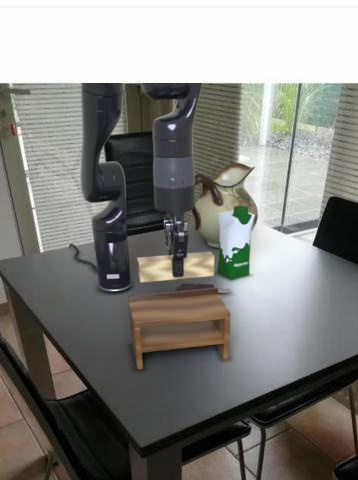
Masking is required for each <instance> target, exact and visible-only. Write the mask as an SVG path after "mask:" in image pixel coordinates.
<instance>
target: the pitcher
mask: <svg viewBox="0 0 358 480" xmlns="http://www.w3.org/2000/svg"><path fill="white" fill-rule="evenodd" d="M255 169H256V167H255V166H253V167H251V166H249V165H246V164H245V163H240V162H234V163H230V164H227V165H226V166H224V167H223V168H222V169H221V170H219V172H218V173H216V175H215V176H214V177H213V178H211V177H209V176H208V175H205V174H203V173H201V172H197V173H195V187H196V186H197V185H199V184H201V185H202V189H201V192H200V193H199V195H198V200H197V201H196V202H195V206H194V208H193V209H192V210H191V213H192V222H193V224H194V231H197V232H198V233H199V234H200V236H201V237H202V238H203V239H204V240H206V244H207V245H208V246H210V247H212V248H217V249H219V237H220V227H219V221H218V214H217V213H221V212H226V211H231V210H234V207H236V206H246V207H248V212H249V213H252V214H255V217H254V221H253V224H252V229H251V233H252V232H253V230H254V229H255V227H256V225H257V222H258V219H259V210H258V206H257V204H256V202H255V200H254V199H253V197H252V196H251V195H250V194H249V192H248V191H247V190H246V188H245V185H244V184H245V181H246V178H248V176H249V175H250V174H251V173H252V172H253V171H254V170H255Z"/></svg>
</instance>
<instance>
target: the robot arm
mask: <svg viewBox="0 0 358 480" xmlns="http://www.w3.org/2000/svg"><path fill="white" fill-rule="evenodd" d="M203 84H204V82H203V83H140V82H139V85H140V86H139V87H140V89H141V91H142V93H144V95H145V96H146V97H148V98H149V99H151V100H153V101H154V100H155V101H168V100H169V101H170V100H171V101H172V100H176V103H175V106H174V108H173V110H172V111H171V112H170V113H168V114H165V115H162V116H160V117H157V118H156V119H154V120H153V123H152V128H151V129H152V148H153V149H152V152H153V162H152V178H153V179H152V182H153V201H154V202H153V203H154V209H155V210H156V211H157V212H159V213H164V214H163V215H162V216H163V217H162V221H163V222H162V223H163V227H164V239H165V246H166V250H167V253H168V255H171V257H172V275H173V277H182V276H183V275H184V258H186V256H187V254H188V245H189V244H188V243H189V235H190V234H189V231H188V221H187V220H185V216H184V214H185V213H186V212H190V211H191V212H192V209H193V208H194V206H195V204H196V198H195V197H196V194H195V189H196V188H195V187H196V186H195V175H196V173H195V171H196V170H195V162H194V161H195V160H194V125H195V122H196V121H195V120H196V116H197V110H198V105H199V102H200V98H201V94H202V89H203ZM80 91H81V92H80V94H81V95H80V96H81V98H80V99H81V100H80V101H81V120H82V121H81V125H82V126H81V129H82V136H81V137H82V143H81V156H80V173H79V174H80V175H79V176H80V189H81V193H82V196H83V198H84V200H85V201H86V202H87V203H91V204H97V203H104V202H108V204H107V205H106V207H104V208H103V209H102V210H100V211H99V212H97V213H96V214H94V215H93V216H92V217H91V228H92V229H91V230H92V236H93V244H94V253H95V261H96V265H95V264H94V263H93V262H91V261H88V260H85V259H81V258H79V257H78V255H79V253H80V252H79V251H80V250H79V248H78V247H77V246H76V245H75V244H73V243H70V244H69V245H68V248H72V247H73V248H74V250H75V253H74V257H73V258H74V259H75V260H76V261H78V262H80V263H84V264H88V265H90V266H91V267H93V269H94V271H95V272H97V279H98V289H99V290H100V291H101V292H103V293H107V294H118V293H123V292H127V291H129V290H130V289H131V288H132V277H131V264H130V254H129V253H130V252H129V240H128V228H127V227H128V226H127V216H128V215H127V213H128V212H127V188H126V187H127V186H126V177H125V176H126V175H125V172H124V169H123V166H122V165H121V164H120V163H119V162H118V161H104V162H100V158H101V154H102V151H103V148H104V147H105V145H106V143H107V142H108V140H109V138H110V137H111V135H112V133H113V131H115V129H116V127H117V125H118V123H119V121H120V120H121V117H122V113H123V109H124V108H123V107H124V91H125V82H124V83H81V82H80Z"/></svg>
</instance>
